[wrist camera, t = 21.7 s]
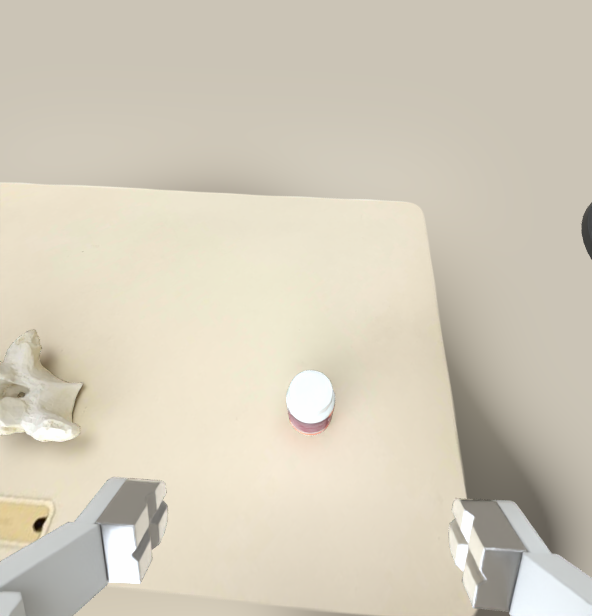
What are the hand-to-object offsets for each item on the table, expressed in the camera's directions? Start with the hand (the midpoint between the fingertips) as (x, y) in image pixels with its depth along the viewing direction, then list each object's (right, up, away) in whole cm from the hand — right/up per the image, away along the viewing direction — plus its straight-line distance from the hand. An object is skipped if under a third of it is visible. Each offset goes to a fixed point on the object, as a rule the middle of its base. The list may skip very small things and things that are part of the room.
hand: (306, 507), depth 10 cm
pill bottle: (+1, -6, +30) cm, 30 cm away
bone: (-29, -5, +31) cm, 43 cm away
